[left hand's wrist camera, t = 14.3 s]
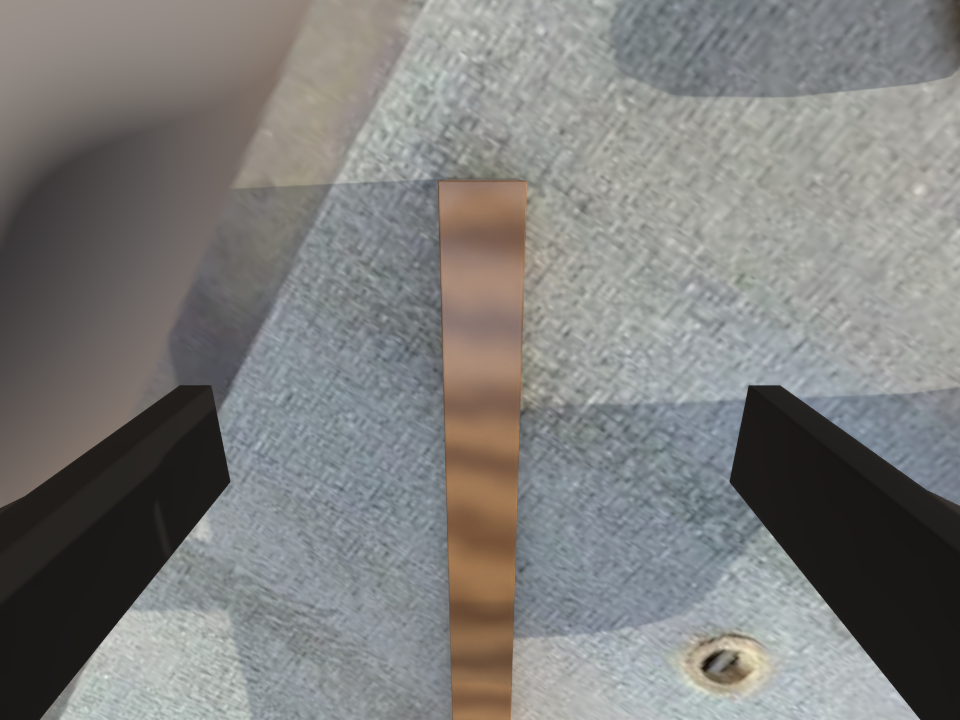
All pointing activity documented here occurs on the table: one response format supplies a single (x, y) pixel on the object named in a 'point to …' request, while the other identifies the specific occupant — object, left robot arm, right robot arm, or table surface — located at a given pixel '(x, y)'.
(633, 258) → the table surface
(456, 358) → the post
